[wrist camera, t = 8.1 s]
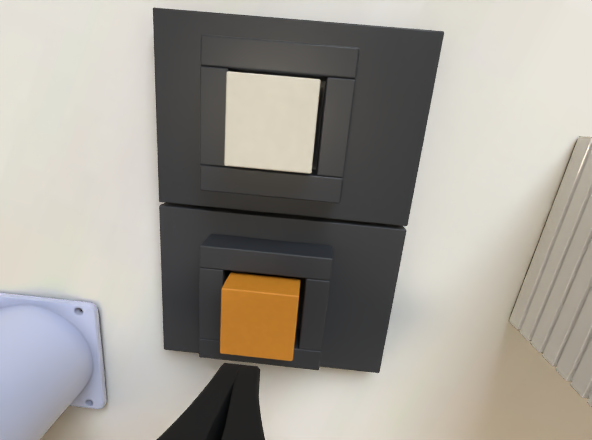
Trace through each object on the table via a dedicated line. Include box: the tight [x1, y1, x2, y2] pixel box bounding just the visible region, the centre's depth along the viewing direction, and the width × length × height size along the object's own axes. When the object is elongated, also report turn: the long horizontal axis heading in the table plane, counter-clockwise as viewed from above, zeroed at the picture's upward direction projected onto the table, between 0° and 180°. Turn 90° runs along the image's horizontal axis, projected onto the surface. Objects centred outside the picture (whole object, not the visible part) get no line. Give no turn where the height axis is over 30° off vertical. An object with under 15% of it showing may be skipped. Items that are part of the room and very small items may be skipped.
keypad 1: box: [159, 203, 406, 373], centre depth 19 cm, size 13×9×3 cm
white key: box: [224, 71, 321, 174], centre depth 14 cm, size 4×4×2 cm
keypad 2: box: [153, 8, 444, 226], centre depth 16 cm, size 13×9×3 cm
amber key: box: [220, 272, 301, 361], centre depth 17 cm, size 4×4×2 cm
